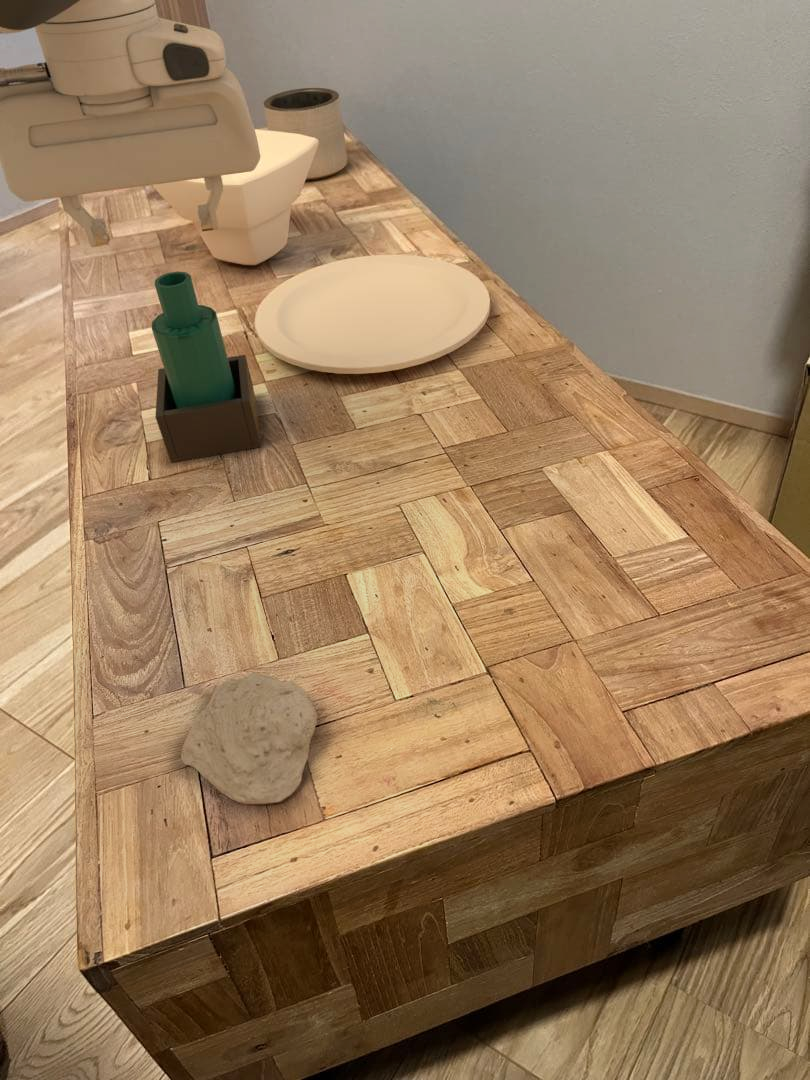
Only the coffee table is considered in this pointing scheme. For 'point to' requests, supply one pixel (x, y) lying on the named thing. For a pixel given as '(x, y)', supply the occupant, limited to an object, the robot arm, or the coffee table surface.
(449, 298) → the plate
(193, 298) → the bottle
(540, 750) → the coffee table surface
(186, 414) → the holder
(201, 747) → the stone
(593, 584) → the coffee table surface
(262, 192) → the bowl
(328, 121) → the planter
